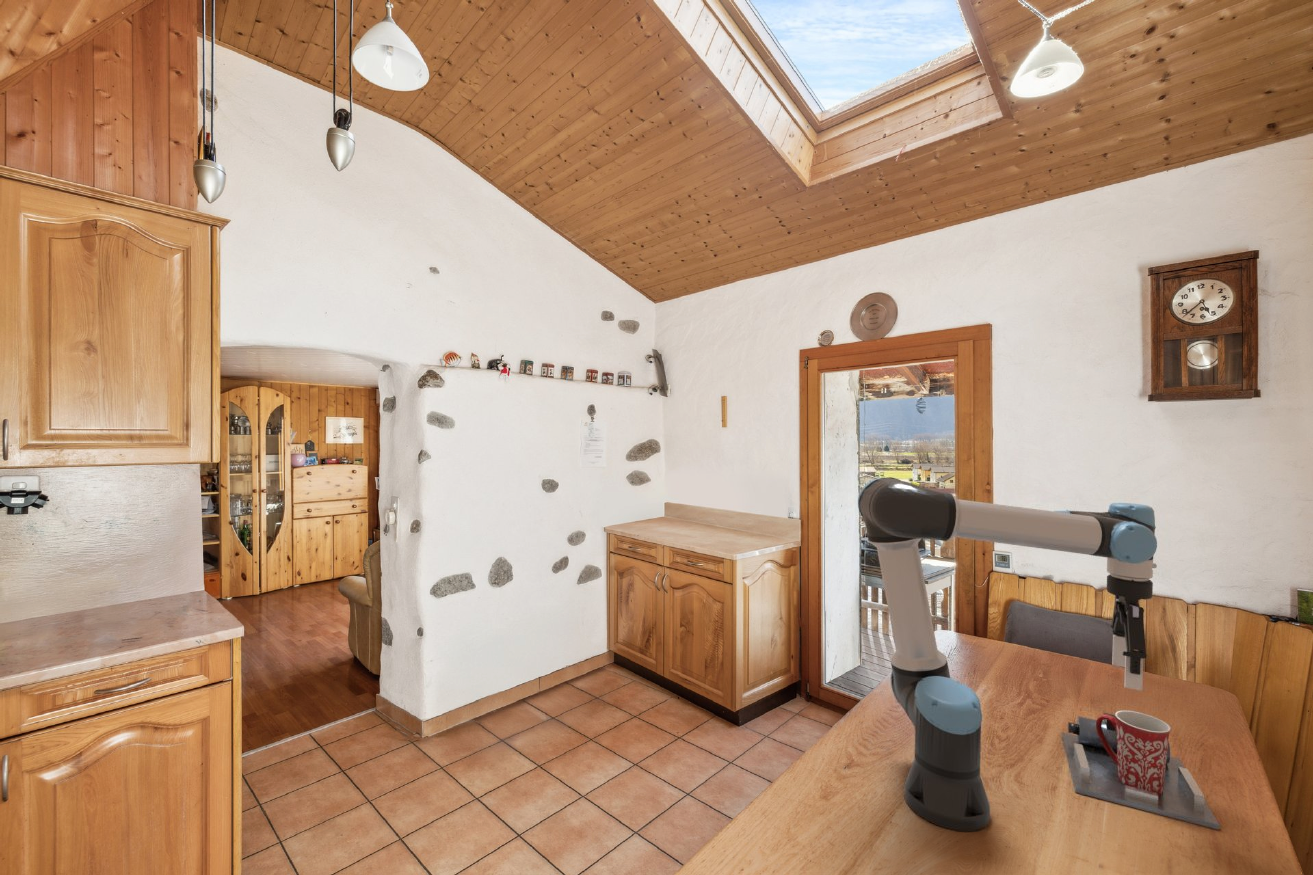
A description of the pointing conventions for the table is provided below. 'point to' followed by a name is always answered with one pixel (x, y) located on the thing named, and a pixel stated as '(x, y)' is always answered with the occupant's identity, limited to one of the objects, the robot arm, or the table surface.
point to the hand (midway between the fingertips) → (1126, 676)
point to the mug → (1138, 749)
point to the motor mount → (1101, 781)
